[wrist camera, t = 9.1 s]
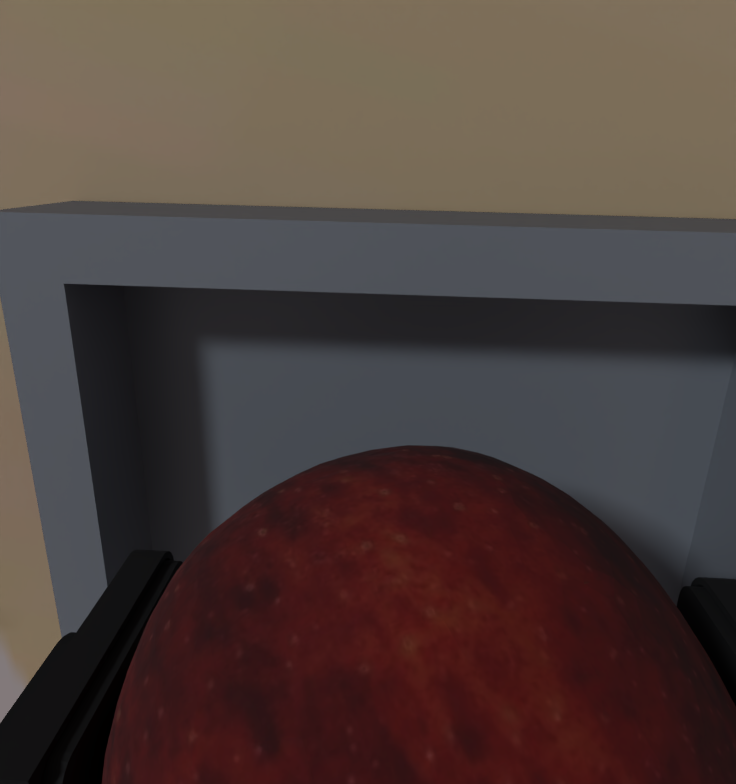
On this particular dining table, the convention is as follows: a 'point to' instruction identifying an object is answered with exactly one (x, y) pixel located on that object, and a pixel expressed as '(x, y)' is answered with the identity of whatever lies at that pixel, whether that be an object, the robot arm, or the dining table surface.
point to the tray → (366, 366)
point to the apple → (418, 642)
